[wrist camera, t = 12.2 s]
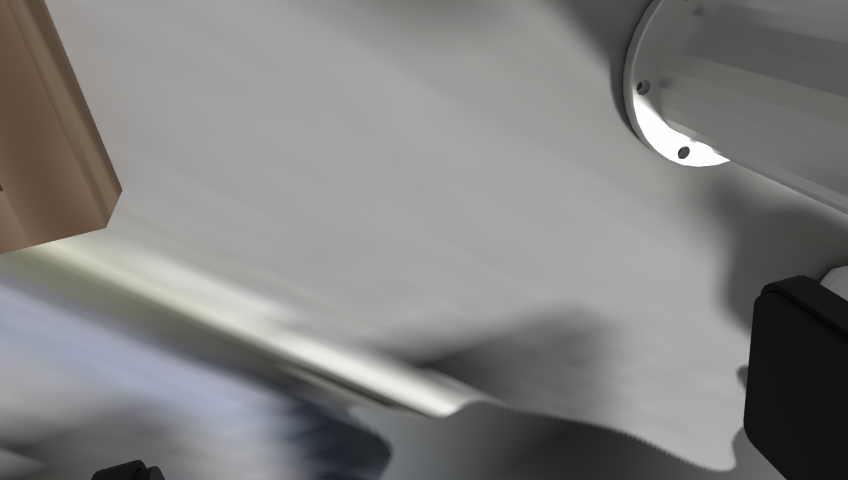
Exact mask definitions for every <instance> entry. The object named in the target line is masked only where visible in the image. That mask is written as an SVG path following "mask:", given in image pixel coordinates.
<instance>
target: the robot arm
mask: <svg viewBox="0 0 848 480" xmlns="http://www.w3.org/2000/svg"><path fill="white" fill-rule="evenodd" d="M637 85H638V86H637ZM623 95H624V101H625V108H626V112H627V115H628V117H629V120H630V123H631V125H632V128H633V129H634V131H635V132H636V134H637V135H638V137H639V138H640V140H641V141H642V142H643V143H644V144H645V145H646V146H647V147H648V148H649V149H650V150H651V151H653V152H654V153H656V154H658V155H659V156H661V157H663V158H665V159H666V160H669V161H671V162H673V163H675V164H678V165H682V166H689V167H710V166H715V165H719V164H723V163H726V162H729V161H733V162H735V163H737V164H739V165H741V166H743V167H746V168H748V169H750V170H752V171H754V172H756V173H759V174H761V175H763V176H765V177H767V178H769V179H772V180H774V181H776V182H778V183H780V184H782V185H785V186H787V187H789V188H791V189H793V190H795V191H798V192H800V193H802V194H804V195H806V196H808V197H811V198H813V199H815V200H817V201H819V202H821V203H824V204H826V205H828V206H830V207H832V208H834V209H837V210H839V211H841V212H843V213H845V214H847V215H848V0H653V1H652V3H651V4H650V5H649V7H648V8H647V9H646V11H645V13H644V14H643V16H642V18H641V20H640V22H639V24H638V26H637V27H636V29H635V32H634V34H633V37H632V40H631V43H630V46H629V48H628V51H627V56H626V62H625V67H624V72H623ZM743 422H744V429H745V432H746V435H747V437H748V439H749V440H750V442H751V443H752V444H753V445H754V446H755V448H756V449H757V450H758V451H759V452H760V453H761V454H762V455H763V456H764V457H765V458H766V459H767V460H768V461H769V462H770V463H771V464H772V465H773V466H774V467H775V468H776V469H777V470H778V471H779V472H780V473H781V474H782V475H783V476H784V477H785V478H786V479H787V480H848V301H847V300H845V299H844V298H842V297H840V296H839V295H837V294H836V293H834V292H832V291H831V290H829V289H828V288H826V287H824V286H823V285H821V284H819V283H818V282H816V281H815V280H813V279H811V278H809V277H807V276H802V275H799V276H795V277H791V278H788V279H784V280H781V281H777V282H773V283H770V284H768V285H766V286H764V288H763V289H762V291H761V295H760V296H759V297H757V299H756V300H755V303H754V311H753V322H752V333H751V344H750V355H749V366H748V377H747V388H746V399H745V410H744V420H743ZM91 480H165V479H164V477H163V474H162V472H161V471H160V469H159V468H158V467H157V466H153V467H150V468H146V466H145V464H144V463H143V462H142V461H141V460H135V461H132V462H128V463H125V464H121V465H117V466H114V467H110V468H107V469H103V470H100V471H97V472H96V473H95V474H94V475H93V477H92V479H91Z"/></svg>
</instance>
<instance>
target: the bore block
mask: <svg viewBox="0 0 848 480" xmlns="http://www.w3.org/2000/svg"><path fill="white" fill-rule="evenodd" d="M121 192H122V188H121V185H120V183H119V181H118V178H117V176H116V173H115V171H114V169H113V166H112V164H111V161H110V159H109V156H108V154H107V152H106V149H105V147H104V144H103V142H102V139H101V137H100V135H99V132H98V130H97V127H96V125H95V123H94V120H93V118H92V115H91V113H90V110H89V108H88V106H87V103H86V101H85V98H84V96H83V93H82V91H81V89H80V86H79V84H78V81H77V79H76V77H75V74H74V72H73V69H72V67H71V64H70V62H69V60H68V57H67V55H66V52H65V50H64V47H63V45H62V43H61V40H60V38H59V35H58V33H57V30H56V28H55V26H54V23H53V21H52V18H51V16H50V14H49V11H48V9H47V6H46V4H45V1H44V0H0V254H3V253H7V252H11V251H15V250H19V249H23V248H27V247H31V246H35V245H39V244H43V243H47V242H51V241H55V240H59V239H63V238H67V237H71V236H75V235H79V234H83V233H87V232H91V231H95V230H99V229H103V228H106V226H107V224H108V222H109V219H110V217H111V215H112V213H113V210H114V208H115V206H116V203H117V201H118V199H119V197H120V194H121Z"/></svg>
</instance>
